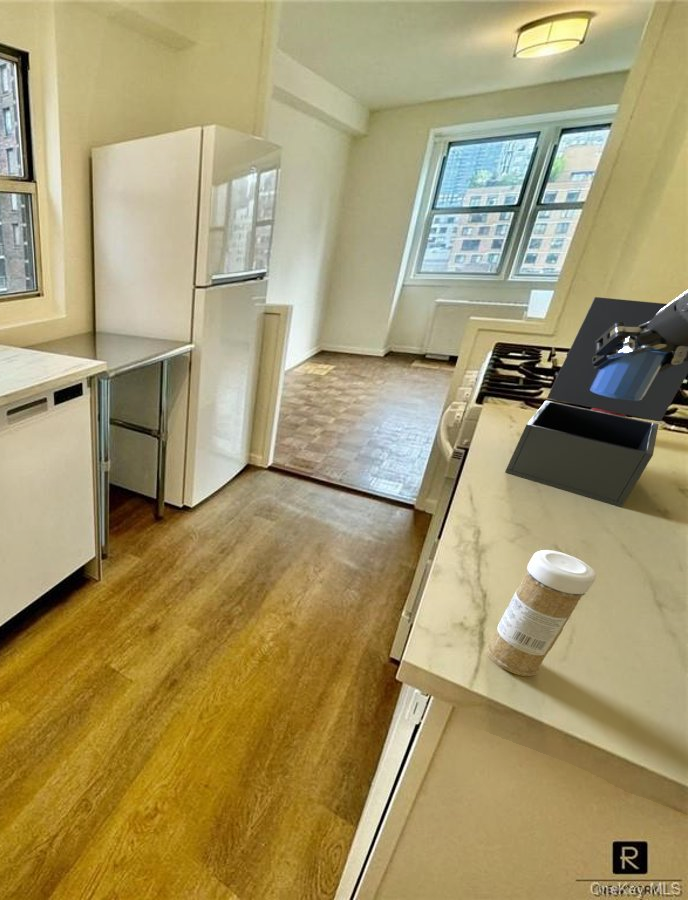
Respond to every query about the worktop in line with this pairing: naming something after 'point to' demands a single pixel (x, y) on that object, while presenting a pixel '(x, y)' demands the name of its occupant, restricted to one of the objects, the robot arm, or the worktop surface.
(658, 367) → the cup
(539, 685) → the worktop surface
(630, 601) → the worktop surface
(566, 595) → the sprinkles bottle
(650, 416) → the door
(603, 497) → the grey storage bin
